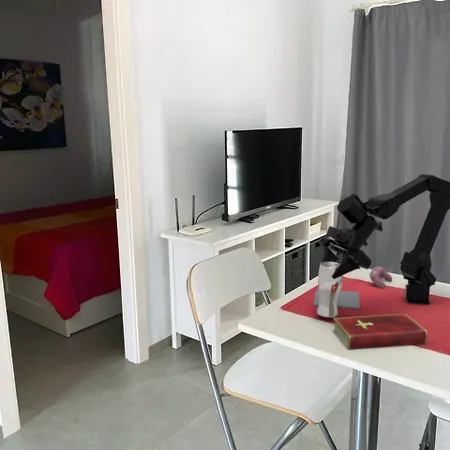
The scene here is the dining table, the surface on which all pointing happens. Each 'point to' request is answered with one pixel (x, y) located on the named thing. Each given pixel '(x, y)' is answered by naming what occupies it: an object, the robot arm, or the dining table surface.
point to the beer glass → (328, 289)
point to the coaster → (343, 299)
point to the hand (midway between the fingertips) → (326, 274)
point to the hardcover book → (380, 331)
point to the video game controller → (379, 276)
